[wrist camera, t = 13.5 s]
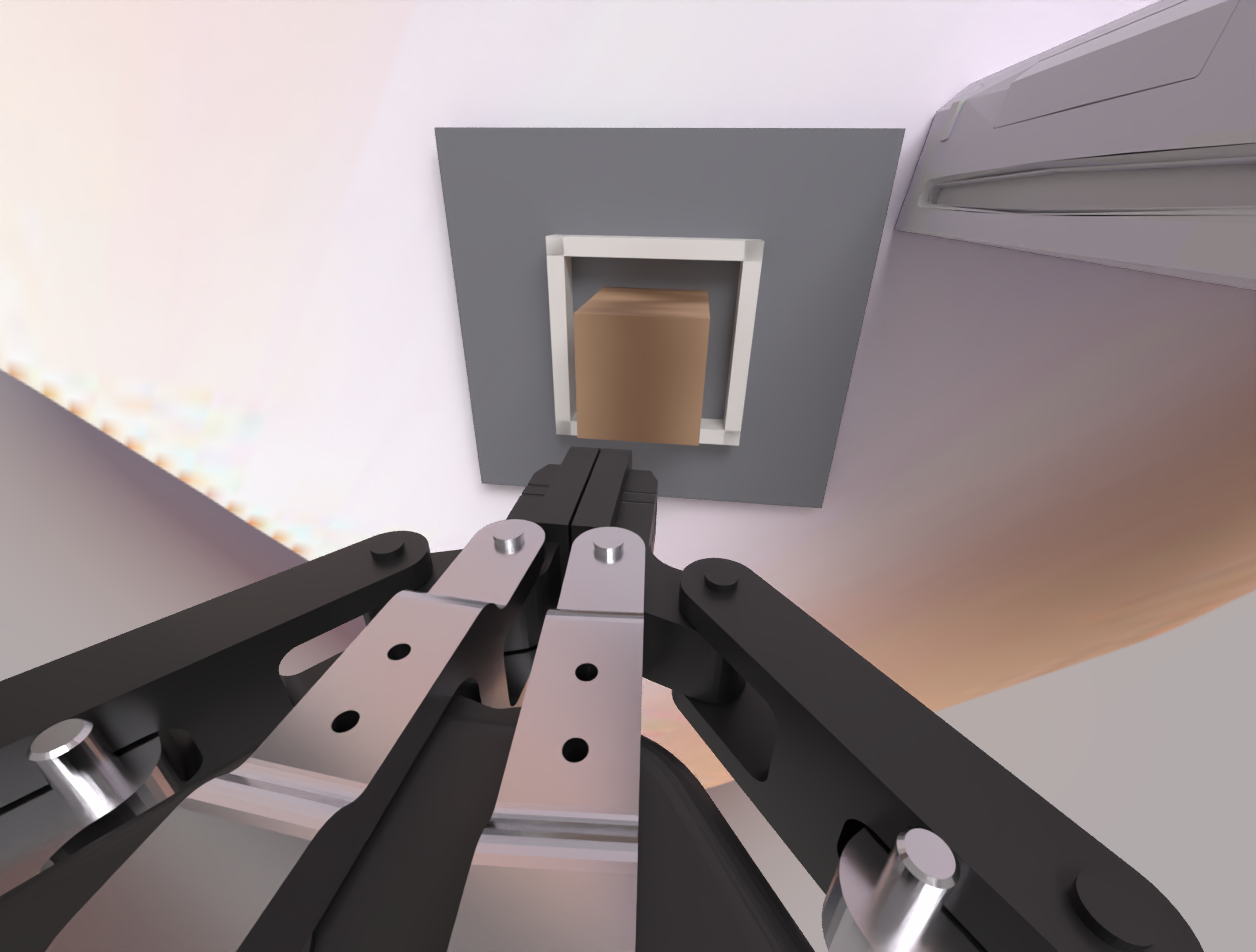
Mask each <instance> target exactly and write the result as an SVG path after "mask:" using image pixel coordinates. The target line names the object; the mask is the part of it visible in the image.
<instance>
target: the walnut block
mask: <svg viewBox="0 0 1256 952" xmlns="http://www.w3.org/2000/svg"><path fill="white" fill-rule="evenodd" d="M709 326H710V313H709V302H708V291H707V290H684V289H656V288H628V287H603V288H602V289H601V290H600V291H599V292H597V293H596V294H595V295H594V296H593V297H592V298H591V299H589V300H588V301H587V302H586V303H585V304H584V305H583V306H581V307H580V308H579V309H578V310H577V311H576V312H575V313H574V345H575V377H576V409H577V438H588V439H603V440H618V441H634V442H649V443H664V444H680V445H695V446H699V439H700V427H701V416H702V405H703V393H704V382H705V371H706V360H707V348H708V337H709Z"/></svg>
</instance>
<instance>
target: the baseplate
mask: <svg viewBox="0 0 1256 952" xmlns="http://www.w3.org/2000/svg"><path fill="white" fill-rule="evenodd" d="M904 133H905V129H868V128H435V136H436V143H437V151H438V158H439V166H440V173H441V181H442V188H443V196H444V203H445V211H446V218H447V226H448V233H449V241H450V248H451V256H452V263H453V271H454V278H455V286H456V293H457V301H458V308H459V316H460V323H461V331H462V338H463V346H464V353H465V361H466V368H467V376H468V383H469V391H470V398H471V406H472V413H473V421H474V428H475V436H476V443H477V451H478V458H479V466H480V473H481V481H482V483H486V484H499V485H513V486H528V483H529V481H530V479H531V478H532V476H533V474H534V473H535V472H537V471H538V470H540V469H541V468H543V467H544V466H546V465H548V464H558V465H561V463H562V462H563V460H564V458H565V456H566V454H567V452H568V450H569V448H570V447H571V446H576V447H591V448H601V449H602V448H608V449H624V450H632V469H633V470H647V471H651V472H652V473H653V475H654V476H655V478H656V479H657V481H658V491H657V496H663V497H676V498H690V499H703V500H717V501H731V502H744V503H758V504H771V505H785V506H799V507H812V508H822V504H823V499H824V495H825V490H826V486H827V481H828V477H829V472H830V468H831V463H832V459H833V454H834V450H835V445H836V441H837V436H838V431H839V427H840V422H841V418H842V413H843V409H844V404H845V400H846V395H847V391H848V386H849V382H850V377H851V373H852V368H853V364H854V359H855V355H856V350H857V346H858V341H859V336H860V332H861V327H862V323H863V318H864V314H865V309H866V305H867V300H868V296H869V291H870V287H871V282H872V278H873V273H874V269H875V264H876V260H877V255H878V251H879V246H880V241H881V237H882V232H883V228H884V223H885V219H886V214H887V210H888V205H889V201H890V196H891V192H892V187H893V183H894V178H895V174H896V169H897V165H898V160H899V156H900V151H901V146H902V142H903V137H904ZM603 287H628V288H656V289H684V290H707V291H708V302H709V313H710V326H709V337H708V348H707V360H706V371H705V382H704V393H703V405H702V416H701V427H700V439H699V446H695V445H680V444H664V443H649V442H634V441H618V440H603V439H588V438H577V409H576V377H575V345H574V313H575V312H576V311H577V310H578V309H579V308H580V307H581V306H583V305H584V304H585V303H586V302H587V301H588V300H589V299H591V298H592V297H593V296H594V295H595V294H596V293H597V292H599V291H600V290H601V289H602V288H603Z"/></svg>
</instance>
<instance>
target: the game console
mask: <svg viewBox="0 0 1256 952" xmlns="http://www.w3.org/2000/svg"><path fill="white" fill-rule="evenodd" d="M954 210H961V211H954ZM965 211H967V212H965ZM894 230H899V231H905V232H912V233H918V234H924V235H931V236H937V237H943V238H949V239H955V240H961V241H967V242H972V243H978V244H984V245H990V246H996V247H1002V248H1008V249H1014V250H1020V251H1026V252H1031V253H1037V254H1043V255H1049V256H1055V257H1061V258H1067V259H1073V260H1079V261H1085V262H1091V263H1096V264H1102V265H1108V266H1114V267H1120V268H1126V269H1132V270H1138V271H1144V272H1150V273H1155V274H1161V275H1167V276H1173V277H1179V278H1185V279H1191V280H1197V281H1203V282H1209V283H1214V284H1220V285H1226V286H1232V287H1238V288H1244V289H1250V290H1256V0H1161V1H1158V2H1156V3H1154V4H1152V5H1149V6H1147V7H1145V8H1142V9H1140V10H1138V11H1136V12H1133V13H1131V14H1129V15H1127V16H1124V17H1122V18H1120V19H1117V20H1115V21H1113V22H1111V23H1108V24H1106V25H1104V26H1101V27H1099V28H1097V29H1095V30H1092V31H1090V32H1088V33H1086V34H1083V35H1081V36H1079V37H1076V38H1074V39H1072V40H1070V41H1067V42H1065V43H1063V44H1060V45H1058V46H1056V47H1054V48H1051V49H1049V50H1047V51H1045V52H1042V53H1040V54H1038V55H1035V56H1033V57H1031V58H1029V59H1026V60H1024V61H1022V62H1019V63H1017V64H1015V65H1013V66H1010V67H1008V68H1006V69H1004V70H1001V71H999V72H997V73H994V74H992V75H990V76H988V77H985V78H983V79H981V80H978V81H976V82H974V83H972V84H970V85H969V86H967V87H966V88H965V89H964V90H963V91H961V92H960V93H959V94H958V95H956V96H955V97H954V98H953V99H952V100H950V101H949V102H948V103H947V104H946V105H944V106H943V107H942V108H941V109H939V110H938V111H937V112H936V114H935V117H934V120H933V123H932V125H931V128H930V131H929V134H928V137H927V139H926V142H925V145H924V148H923V151H922V153H921V156H920V159H919V162H918V164H917V167H916V170H915V173H914V176H913V178H912V181H911V184H910V187H909V190H908V192H907V195H906V198H905V201H904V204H903V206H902V209H901V212H900V215H899V218H898V220H897V223H896V226H895V229H894Z"/></svg>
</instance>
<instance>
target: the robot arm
mask: <svg viewBox="0 0 1256 952" xmlns="http://www.w3.org/2000/svg"><path fill="white" fill-rule="evenodd" d="M657 491H658V481H657V479H656V478H655V476H654V475H653V473H652V472H651V471H647V470H633V469H632V450H624V449H608V448H602V449H601V448H591V447H576V446H571V447H570V448H569V450H568V452H567V454H566V456H565V458H564V460H563V462H562V463H561V465H558V464H548V465H546V466H544V467H543V468H541V469H540V470H538V471H537V472H535V473H534V474H533V476H532V478H531V479H530V481H529V483H528V486H526V488H525V489H524V491H523V492H522V495H521V496H520V497H519V499H518V501H517V502H516V504H515V506H514V507H513V509H512V510H511V512H510V514H509V515H508V517H507V519H506V520H502V521H498V522H495V523H492V524H489V525H487V526H485V527H483V528H482V529H481V530H479V531H478V532H477V533H476V534H475V535H474V537H473V538H472V539H471V540H470V541H469V543H468V544H467V545H466V546H465V548H464V549H460V550H453V551H444V552H436V553H430V549H429V544H428V541H427V539H426V538H425V537H424V536H422V535H421V534H418V533H415V532H410V531H393V532H387V533H383V534H379V535H376V536H374V537H371V538H368V539H366V540H363V541H361V542H358V543H356V544H353V545H350V546H348V547H345V548H343V549H340V550H337V551H335V552H332V553H330V554H327V555H325V556H322V557H319V558H317V559H314V560H312V561H309V562H307V563H304V564H301V565H299V566H296V567H294V568H291V569H289V570H286V571H284V572H281V573H278V574H276V575H273V576H271V577H268V578H266V579H263V580H260V581H258V582H255V583H253V584H250V585H247V586H245V587H242V588H240V589H237V590H234V591H232V592H229V593H227V594H224V595H222V596H219V597H216V598H214V599H211V600H209V601H206V602H204V603H201V604H198V605H196V606H193V607H191V608H188V609H186V610H183V611H180V612H178V613H176V614H173V615H170V616H168V617H165V618H162V619H160V620H157V621H155V622H152V623H150V624H147V625H144V626H142V627H139V628H137V629H134V630H132V631H129V632H126V633H124V634H121V635H119V636H116V637H114V638H111V639H108V640H106V641H103V642H101V643H98V644H95V645H93V646H90V647H88V648H85V649H83V650H80V651H77V652H75V653H72V654H70V655H67V656H65V657H62V658H60V659H57V660H54V661H52V662H49V663H47V664H44V665H41V666H39V667H36V668H34V669H31V670H29V671H26V672H24V673H21V674H18V675H16V676H13V677H10V678H8V679H5V680H3V681H1V682H0V952H815V951H814V950H813V948H812V947H811V945H810V944H809V942H808V941H807V939H806V938H805V936H804V935H803V933H802V932H801V930H800V929H799V927H798V926H797V924H796V923H795V921H794V920H793V919H792V917H791V916H790V914H789V913H788V911H787V910H786V908H785V907H784V905H783V904H782V902H781V901H780V899H779V898H778V896H777V895H776V893H775V892H774V891H773V889H772V888H771V886H770V885H769V883H768V882H767V880H766V879H765V877H764V876H763V875H762V873H761V871H760V870H759V868H758V867H757V866H756V864H755V863H754V861H753V860H752V858H751V857H750V855H749V854H748V852H747V851H746V849H745V848H744V846H743V845H742V844H741V842H740V841H739V839H738V838H737V836H736V835H735V833H734V832H733V830H732V829H731V827H730V826H729V824H728V823H727V821H726V820H725V818H724V817H723V816H722V814H721V813H720V811H719V810H718V808H717V807H716V805H715V804H714V802H713V801H712V799H711V798H710V796H709V795H708V793H707V792H706V790H705V789H704V788H703V786H702V785H701V783H700V782H699V781H698V779H697V778H696V777H695V776H694V775H693V774H692V773H691V771H690V770H689V769H688V768H687V767H686V766H685V765H684V764H683V763H682V762H681V761H680V760H678V759H677V758H676V757H675V756H674V755H673V754H672V753H670V752H669V751H668V750H666V749H665V748H663V747H662V746H660V745H659V744H657V743H656V742H654V741H652V740H650V739H648V738H647V737H645V736H643V735H641V702H642V677H644V678H646V679H648V680H651V681H653V682H656V683H658V684H660V685H663V686H665V687H668V688H670V689H672V697H673V700H674V702H675V704H676V706H677V707H678V709H679V710H680V711H681V713H682V714H683V715H684V716H685V718H686V719H687V720H688V721H689V723H690V724H691V725H692V727H693V728H694V729H695V730H696V732H697V733H698V734H699V735H700V737H701V738H702V739H703V740H704V742H705V743H706V744H707V745H708V747H709V748H710V749H711V750H712V752H713V753H714V754H715V756H716V757H717V758H718V759H719V761H720V762H721V763H722V764H723V766H724V767H725V768H726V769H727V771H728V772H729V773H730V774H731V776H732V777H733V778H734V779H735V781H736V782H737V783H738V785H739V786H740V787H741V788H742V790H743V791H744V792H745V793H746V795H747V796H748V797H749V798H750V800H751V801H752V802H753V803H754V805H755V806H756V807H757V808H758V810H759V811H760V812H761V813H762V815H763V816H764V817H765V819H766V820H767V821H768V822H769V824H770V825H771V826H772V827H773V829H774V830H775V831H776V832H777V834H778V835H779V836H780V837H781V839H782V840H783V841H784V842H785V844H786V845H787V846H788V848H789V849H790V850H791V851H792V853H793V854H794V855H795V856H796V858H797V859H798V860H799V861H800V863H801V864H802V865H803V866H804V868H805V869H806V870H807V872H808V873H809V874H810V875H811V877H812V878H813V879H814V880H815V881H816V883H817V884H818V885H819V886H820V888H821V889H822V890H823V892H824V893H825V894H826V897H825V900H824V903H823V909H822V928H823V933H824V939H825V941H826V945H827V948H828V951H829V952H1204V951H1203V949H1202V948H1201V945H1200V943H1199V941H1198V939H1197V938H1196V936H1195V934H1194V933H1193V931H1192V930H1191V928H1190V926H1189V925H1188V924H1187V922H1186V921H1185V920H1184V919H1183V917H1182V916H1181V914H1180V913H1179V912H1178V910H1177V909H1176V908H1175V907H1174V906H1173V905H1172V904H1171V903H1170V902H1169V900H1168V899H1167V898H1166V897H1165V896H1164V895H1163V894H1162V893H1161V892H1160V891H1159V890H1158V889H1157V888H1156V887H1155V886H1154V885H1153V884H1152V883H1150V882H1149V881H1148V880H1147V879H1146V878H1145V877H1143V876H1142V875H1141V874H1140V873H1139V872H1137V871H1136V870H1135V869H1134V868H1132V867H1131V866H1130V865H1128V864H1127V863H1126V862H1125V861H1123V860H1122V859H1121V858H1119V857H1118V856H1117V855H1116V854H1114V853H1113V852H1112V851H1110V850H1109V849H1108V848H1107V847H1105V846H1104V845H1103V844H1102V843H1100V842H1099V841H1097V840H1096V839H1095V838H1094V837H1093V836H1091V835H1090V834H1089V833H1087V832H1086V831H1085V830H1083V829H1082V828H1081V827H1080V826H1078V825H1077V824H1076V823H1074V822H1073V821H1072V820H1071V819H1069V818H1068V817H1067V816H1065V815H1064V814H1063V813H1062V812H1060V811H1059V810H1058V809H1057V808H1055V807H1054V806H1053V805H1052V804H1050V803H1049V802H1047V801H1046V800H1045V799H1044V798H1043V797H1041V796H1040V795H1039V794H1037V793H1036V792H1035V791H1034V790H1032V789H1031V788H1030V787H1028V786H1027V785H1026V784H1025V783H1023V782H1022V781H1021V780H1019V779H1018V778H1017V777H1016V776H1014V775H1013V774H1012V773H1011V772H1009V771H1008V770H1007V769H1005V768H1004V767H1003V766H1001V765H1000V764H999V763H998V762H996V761H995V760H994V759H993V758H991V757H990V756H989V755H987V754H986V753H985V752H984V751H982V750H981V749H980V748H978V747H977V746H976V745H975V744H973V743H972V742H971V741H969V740H968V739H967V738H966V737H964V736H963V735H962V734H961V733H959V732H958V731H957V730H955V729H954V728H953V727H952V726H950V725H949V724H948V723H946V722H945V721H944V720H943V719H941V718H940V717H939V716H937V715H936V714H935V713H934V712H932V711H931V710H930V709H928V708H927V707H926V706H925V705H923V704H922V703H921V702H920V701H918V700H917V699H916V698H914V697H913V696H912V695H911V694H909V693H908V692H907V691H905V690H904V689H903V688H902V687H900V686H899V685H898V684H896V683H895V682H894V681H893V680H891V679H890V678H889V677H887V676H886V675H885V674H884V673H882V672H881V671H880V670H878V669H877V668H876V667H875V666H873V665H872V664H871V663H870V662H868V661H867V660H866V659H864V658H863V657H862V656H861V655H859V654H858V653H857V652H855V651H854V650H853V649H852V648H850V647H849V646H848V645H846V644H845V643H844V642H843V641H841V640H840V639H839V638H837V637H836V636H835V635H834V634H832V633H831V632H830V631H828V630H827V629H826V628H825V627H823V626H822V625H821V624H820V623H818V622H817V621H816V620H814V619H813V618H812V617H811V616H809V615H808V614H807V613H805V612H804V611H803V610H802V609H800V608H799V607H798V606H796V605H795V604H794V603H793V602H791V601H790V600H789V599H787V598H786V597H785V596H784V595H782V594H781V593H780V592H778V591H777V590H776V589H775V588H773V587H772V586H771V585H770V584H768V583H767V582H766V581H764V580H763V579H762V578H761V577H759V576H758V575H757V574H755V573H754V572H753V571H752V570H750V569H749V568H747V567H746V566H744V565H742V564H740V563H737V562H735V561H731V560H728V559H722V558H707V559H701V560H698V561H695V562H693V563H691V564H689V565H688V566H687V567H686V568H685V569H684V570H683V571H682V570H678V569H675V568H673V567H670V566H668V565H666V564H664V563H663V562H661V561H660V560H658V559H657V558H656V557H655V556H654V555H653V548H654V541H655V533H656V512H657ZM361 615H363V616H364V620H365V623H366V628H365V629H364V630H363V631H362V632H361V633H360V634H359V636H358V637H357V638H356V639H355V640H354V641H353V642H352V643H351V644H350V646H349V647H348V648H347V649H346V650H345V651H343V652H341V653H339V654H337V655H335V656H333V657H331V658H329V659H327V660H325V661H323V662H321V663H319V664H317V665H315V666H313V667H311V668H309V669H307V670H305V671H303V672H301V673H299V674H296V675H292V676H282V675H279V664H280V662H281V660H282V659H283V657H284V656H285V655H286V654H287V653H288V652H289V651H290V650H291V649H293V648H294V647H296V646H298V645H300V644H302V643H304V642H306V641H308V640H310V639H313V638H315V637H317V636H319V635H321V634H323V633H325V632H327V631H329V630H332V629H334V628H336V627H338V626H340V625H342V624H344V623H346V622H348V621H350V620H353V619H355V618H357V617H359V616H361Z"/></svg>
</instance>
